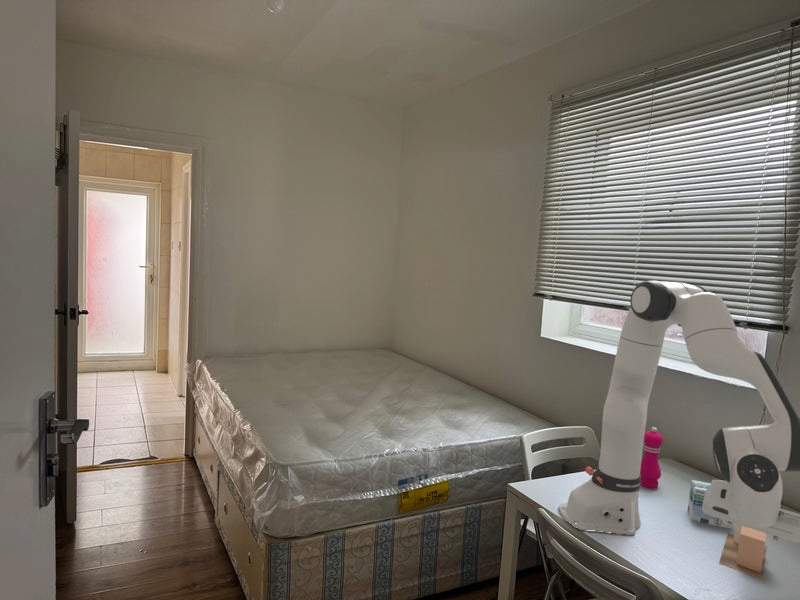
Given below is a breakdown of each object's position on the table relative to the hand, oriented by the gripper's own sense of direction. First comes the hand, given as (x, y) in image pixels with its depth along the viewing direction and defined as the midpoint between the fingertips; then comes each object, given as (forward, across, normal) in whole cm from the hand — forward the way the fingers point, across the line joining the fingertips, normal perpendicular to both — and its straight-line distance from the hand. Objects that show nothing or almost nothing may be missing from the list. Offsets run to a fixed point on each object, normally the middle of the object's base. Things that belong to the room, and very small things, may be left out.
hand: (752, 529), depth 124 cm
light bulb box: (+32, +11, -11) cm, 36 cm away
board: (+22, +2, -1) cm, 22 cm away
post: (+26, +3, -6) cm, 26 cm away
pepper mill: (+42, +31, -21) cm, 57 cm away
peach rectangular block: (+18, 0, +2) cm, 18 cm away
